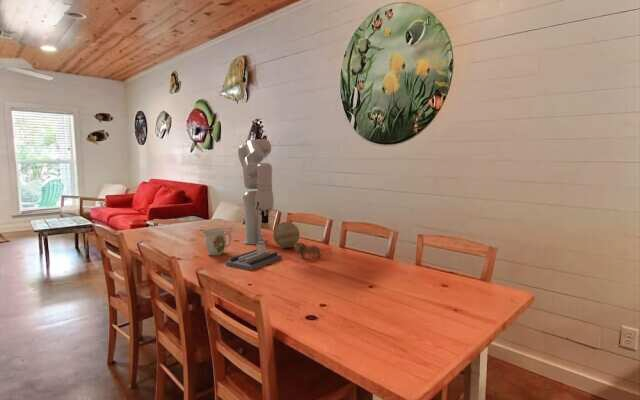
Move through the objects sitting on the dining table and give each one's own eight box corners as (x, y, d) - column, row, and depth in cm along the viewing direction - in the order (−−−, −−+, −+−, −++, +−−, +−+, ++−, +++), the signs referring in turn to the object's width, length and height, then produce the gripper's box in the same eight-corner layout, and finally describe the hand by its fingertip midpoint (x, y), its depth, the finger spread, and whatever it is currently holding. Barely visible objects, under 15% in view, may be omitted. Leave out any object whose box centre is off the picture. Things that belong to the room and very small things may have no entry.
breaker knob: (260, 253, 199) (260, 241, 199) (265, 254, 198) (265, 241, 197) (256, 255, 197) (256, 242, 196) (261, 256, 195) (261, 243, 194)
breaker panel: (257, 254, 208) (257, 247, 207) (281, 258, 199) (281, 250, 199) (226, 265, 187) (225, 257, 187) (251, 270, 179) (250, 262, 178)
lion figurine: (296, 260, 196) (296, 243, 194) (293, 257, 201) (293, 241, 199) (323, 258, 200) (323, 241, 199) (319, 255, 205) (319, 239, 204)
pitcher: (237, 252, 212) (236, 227, 210) (207, 258, 199) (206, 232, 197) (226, 248, 219) (225, 225, 218) (197, 254, 206) (196, 229, 205)
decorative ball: (287, 252, 212) (287, 225, 210) (268, 248, 221) (267, 222, 219) (304, 246, 224) (304, 221, 222) (285, 243, 233) (285, 219, 231)
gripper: (268, 186, 205) (268, 219, 207) (249, 188, 192) (249, 224, 195) (279, 187, 201) (279, 221, 203) (260, 189, 188) (261, 226, 191)
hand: (265, 222), depth 199 cm, fingers closed
